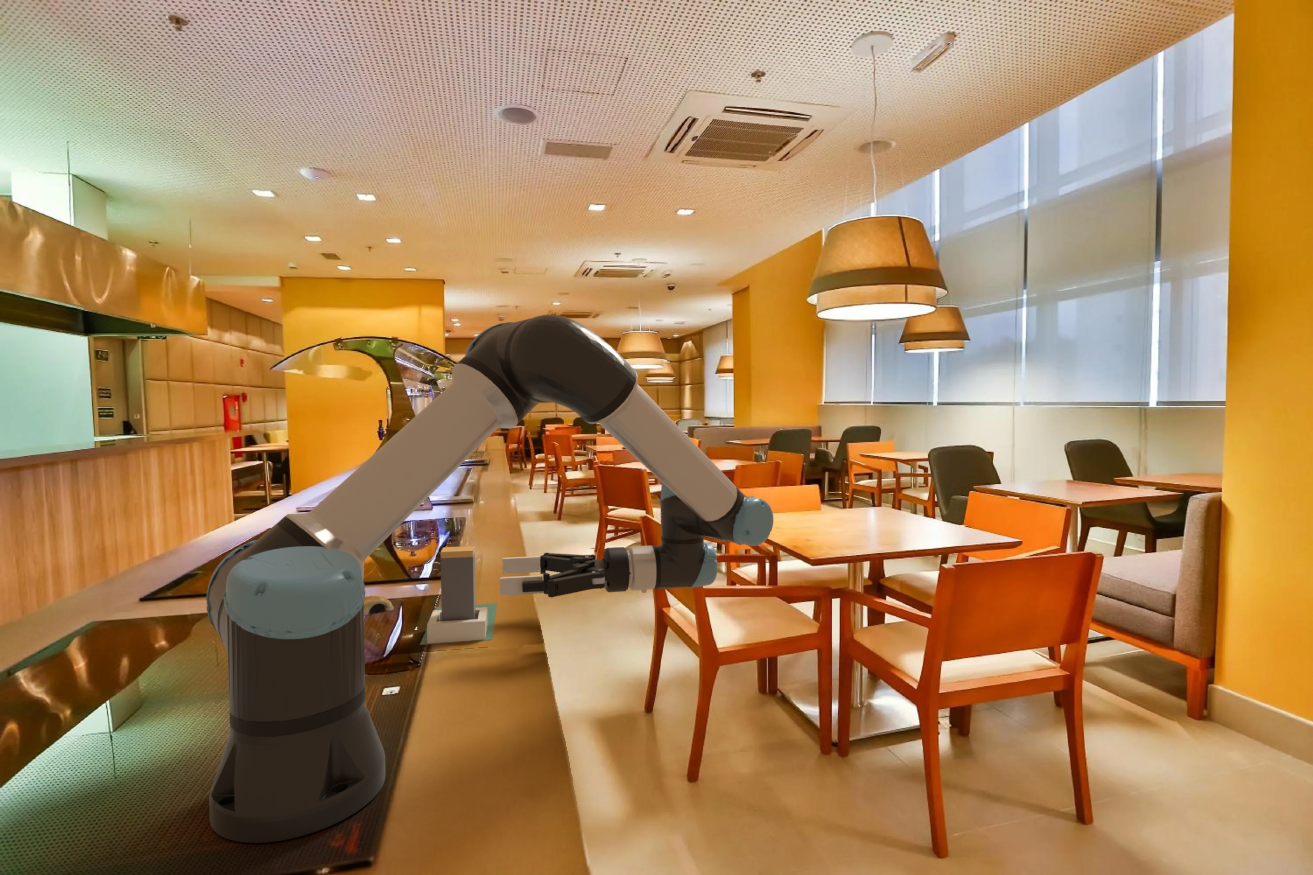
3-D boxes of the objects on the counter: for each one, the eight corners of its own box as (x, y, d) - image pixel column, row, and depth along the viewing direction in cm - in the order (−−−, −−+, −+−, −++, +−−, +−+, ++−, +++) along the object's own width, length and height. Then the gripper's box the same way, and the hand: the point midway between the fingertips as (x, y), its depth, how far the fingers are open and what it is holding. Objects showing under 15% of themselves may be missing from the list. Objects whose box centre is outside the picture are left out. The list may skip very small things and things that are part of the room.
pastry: (343, 612, 122) (343, 592, 122) (379, 605, 126) (379, 586, 126) (360, 624, 115) (359, 603, 115) (398, 617, 119) (398, 596, 119)
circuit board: (492, 646, 103) (492, 639, 103) (419, 652, 101) (419, 644, 101) (497, 609, 123) (497, 603, 123) (436, 613, 121) (436, 606, 121)
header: (485, 639, 103) (484, 620, 103) (427, 643, 101) (427, 624, 101) (487, 624, 111) (487, 607, 110) (433, 627, 109) (433, 610, 109)
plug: (474, 636, 105) (473, 550, 104) (441, 638, 104) (440, 551, 103) (475, 628, 108) (474, 546, 108) (444, 630, 107) (443, 547, 107)
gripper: (640, 612, 100) (499, 621, 95) (617, 572, 124) (503, 578, 120) (640, 564, 99) (498, 571, 95) (617, 533, 124) (503, 538, 119)
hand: (501, 575), depth 107 cm, fingers open, 13 cm apart
